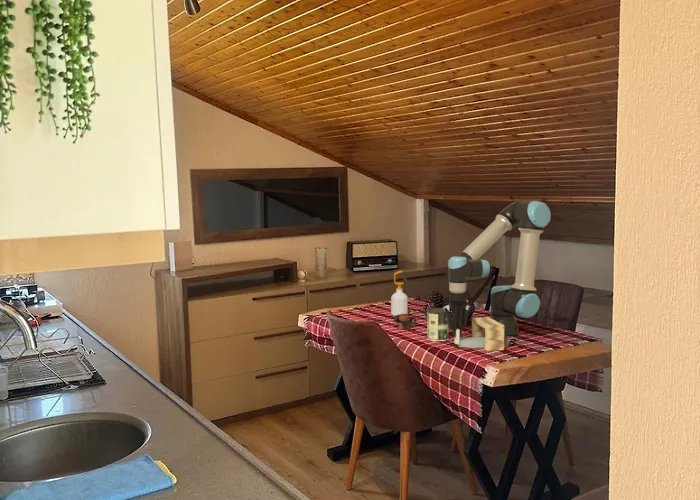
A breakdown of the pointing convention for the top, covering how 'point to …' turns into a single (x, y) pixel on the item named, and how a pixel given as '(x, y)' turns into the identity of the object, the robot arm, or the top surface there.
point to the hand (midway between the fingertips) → (456, 343)
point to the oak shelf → (490, 333)
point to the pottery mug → (405, 321)
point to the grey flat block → (471, 341)
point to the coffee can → (437, 325)
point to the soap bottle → (399, 300)
